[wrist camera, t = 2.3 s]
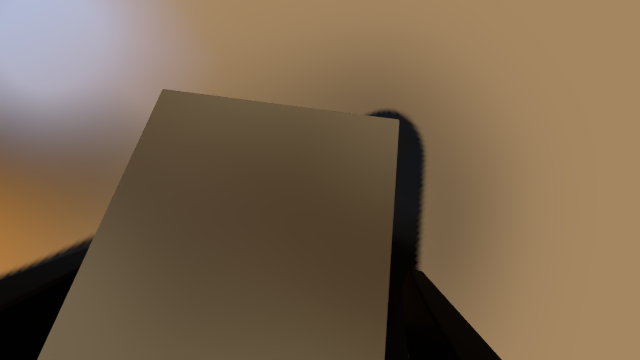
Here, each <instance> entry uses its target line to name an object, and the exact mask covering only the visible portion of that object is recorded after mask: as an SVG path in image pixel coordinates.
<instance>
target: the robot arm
mask: <svg viewBox="0 0 640 360" xmlns="http://www.w3.org/2000/svg"><path fill="white" fill-rule="evenodd" d="M88 249H89V247H87V248H84V249H82V250H79V251H76V252H74V253H71V254H68V255H66V256H63V257H60V258H57V259H55V260H52V261H49V262H47V263H44V264H41V265H39V266H36V267H33V268H31V269H28V270H25V271H23V272H20V273H17V274H15V275H12V276H9V277H7V278H4V279H1V280H0V360H37V359H38V357H39V355H40V353H41V350H42V348H43V346H44V344H45V342H46V340H47V337H48V335H49V333H50V331H51V329H52V327H53V325H54V322H55V320H56V318H57V316H58V314H59V312H60V309H61V307H62V305H63V303H64V301H65V299H66V297H67V294H68V292H69V290H70V288H71V286H72V284H73V281H74V279H75V277H76V275H77V273H78V271H79V269H80V266H81V264H82V262H83V260H84V258H85V256H86V253H87V251H88ZM402 299H403V310H404V322H405V332H406V341H407V347H408V352H409V357H410V360H501V359H500V357H499V356H498V355H497V354H496V353H495V352H494V351H493V350H492V349H491V347H490V346H489V345H488V344H487V343H486V342H485V341H484V340H483V339H482V338H481V336H480V335H479V334H478V333H477V332H476V331H475V330H474V329H473V327H472V326H471V325H470V324H469V323H468V322H467V321H466V320H465V319H464V317H463V316H462V315H461V314H460V313H459V312H458V311H457V310H456V309H455V308H454V306H453V305H452V304H451V303H450V302H449V301H448V300H447V299H446V297H445V296H444V295H443V294H442V293H441V292H440V291H439V290H438V289H437V287H436V286H435V285H434V284H433V283H432V282H431V281H430V280H429V279H428V277H426V275H425V274H424V273H423V272H422V271H418V270H412V269H410V270H409V271H408V272H407V275H406V278H405V280H404V283H403V286H402Z"/></svg>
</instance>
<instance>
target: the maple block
mask: <svg viewBox="0 0 640 360" xmlns="http://www.w3.org/2000/svg"><path fill="white" fill-rule="evenodd" d="M398 131H399V120H397V119H389V118H382V117H374V116H366V115H358V114H351V113H343V112H335V111H327V110H319V109H312V108H304V107H297V106H289V105H281V104H274V103H266V102H258V101H250V100H243V99H235V98H227V97H220V96H212V95H204V94H197V93H188V92H181V91H173V90H166V89H163V90H162V92H161V94H160V96H159V99H158V101H157V103H156V105H155V107H154V109H153V111H152V113H151V116H150V118H149V120H148V122H147V124H146V127H145V128H144V131H143V133H142V135H141V137H140V139H139V142H138V144H137V146H136V148H135V150H134V152H133V154H132V156H131V159H130V161H129V163H128V165H127V167H126V170H125V172H124V174H123V176H122V178H121V180H120V182H119V185H118V187H117V189H116V191H115V193H114V195H113V197H112V200H111V202H110V204H109V206H108V209H107V210H106V213H105V215H104V217H103V219H102V221H101V223H100V225H99V228H98V230H97V232H96V234H95V236H94V238H93V241H92V243H91V245H90V247H89V249H88V251H87V253H86V256H85V258H84V260H83V262H82V264H81V266H80V269H79V271H78V273H77V275H76V277H75V279H74V281H73V284H72V286H71V288H70V290H69V292H68V294H67V297H66V299H65V301H64V303H63V305H62V307H61V309H60V312H59V314H58V316H57V318H56V320H55V322H54V325H53V327H52V329H51V331H50V333H49V335H48V337H47V340H46V342H45V344H44V346H43V348H42V350H41V353H40V355H39V357H38V359H37V360H385V343H386V327H387V311H388V294H389V278H390V262H391V245H392V229H393V213H394V196H395V180H396V164H397V147H398Z"/></svg>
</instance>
